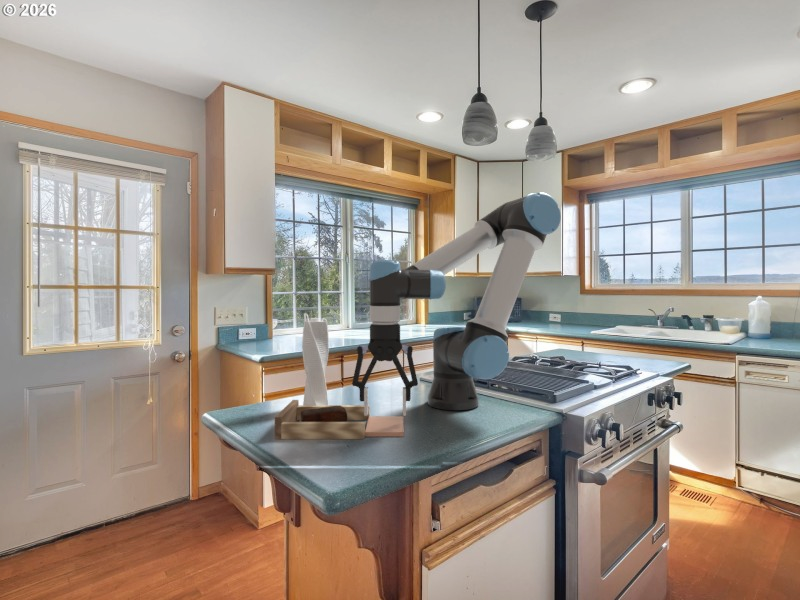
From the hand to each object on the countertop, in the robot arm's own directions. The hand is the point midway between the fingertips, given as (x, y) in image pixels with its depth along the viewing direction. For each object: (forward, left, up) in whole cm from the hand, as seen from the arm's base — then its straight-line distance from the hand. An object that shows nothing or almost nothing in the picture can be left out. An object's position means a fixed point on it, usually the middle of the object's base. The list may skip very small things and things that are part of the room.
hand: (385, 414), depth 106 cm
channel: (+14, 0, -3) cm, 14 cm away
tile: (0, 0, -3) cm, 3 cm away
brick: (+14, -1, -4) cm, 14 cm away
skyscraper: (+21, -18, -4) cm, 28 cm away
